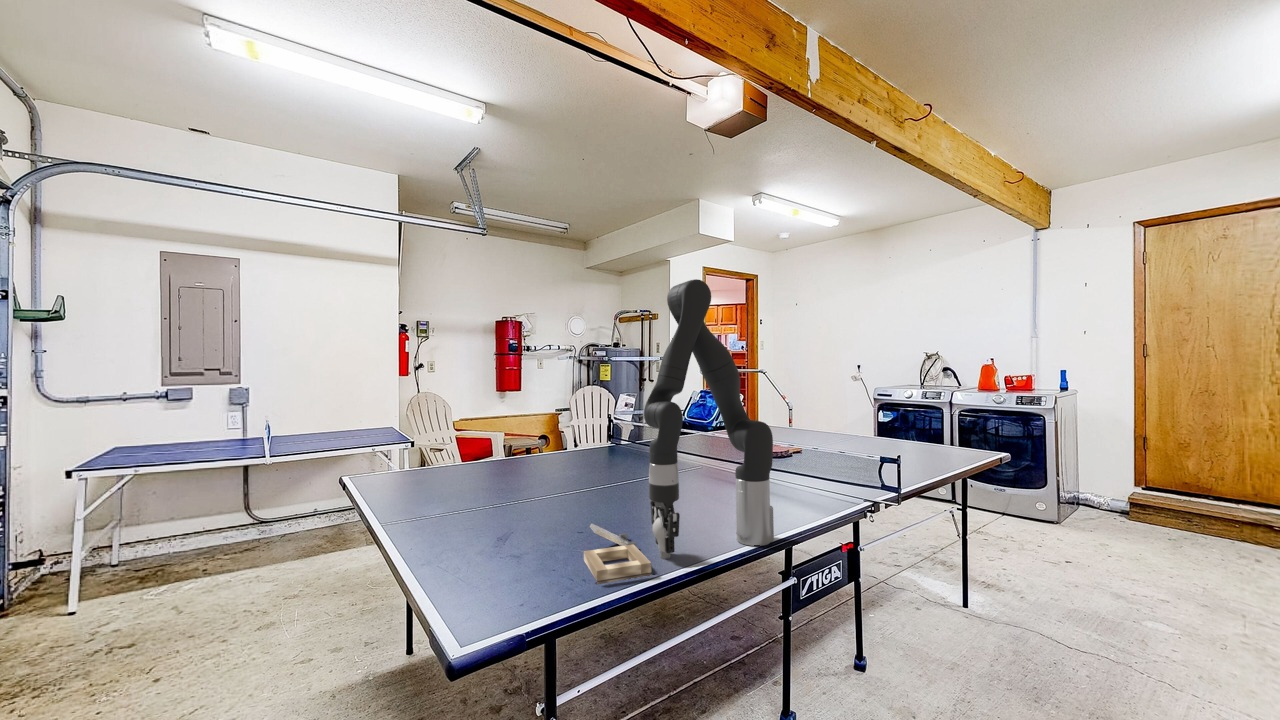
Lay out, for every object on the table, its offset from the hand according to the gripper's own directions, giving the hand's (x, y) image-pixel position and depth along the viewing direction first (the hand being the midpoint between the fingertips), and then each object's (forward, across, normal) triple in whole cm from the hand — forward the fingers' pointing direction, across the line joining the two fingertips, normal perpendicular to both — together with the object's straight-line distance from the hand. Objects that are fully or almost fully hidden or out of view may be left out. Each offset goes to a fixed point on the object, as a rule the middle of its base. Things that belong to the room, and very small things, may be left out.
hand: (664, 547), depth 124 cm
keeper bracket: (+3, +12, +6) cm, 14 cm away
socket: (+3, -1, +13) cm, 13 cm away
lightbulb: (+3, 0, 0) cm, 3 cm away
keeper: (0, +12, +11) cm, 16 cm away
